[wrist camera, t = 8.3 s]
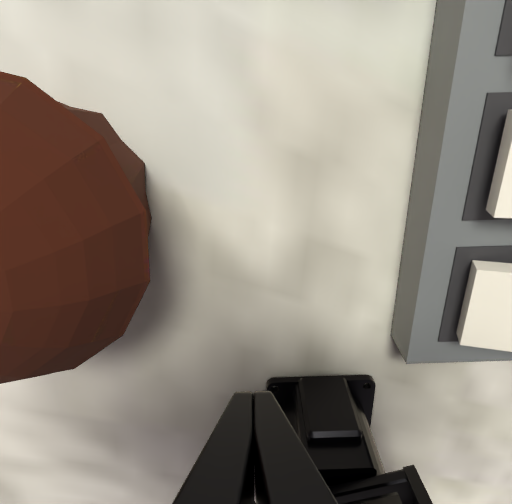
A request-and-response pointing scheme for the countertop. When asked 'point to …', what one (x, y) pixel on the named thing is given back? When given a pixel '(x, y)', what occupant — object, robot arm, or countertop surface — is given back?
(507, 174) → the rocker
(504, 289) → the rocker
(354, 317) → the countertop surface
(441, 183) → the switch unit
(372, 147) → the countertop surface
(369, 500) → the robot arm
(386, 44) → the countertop surface
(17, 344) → the muffin
